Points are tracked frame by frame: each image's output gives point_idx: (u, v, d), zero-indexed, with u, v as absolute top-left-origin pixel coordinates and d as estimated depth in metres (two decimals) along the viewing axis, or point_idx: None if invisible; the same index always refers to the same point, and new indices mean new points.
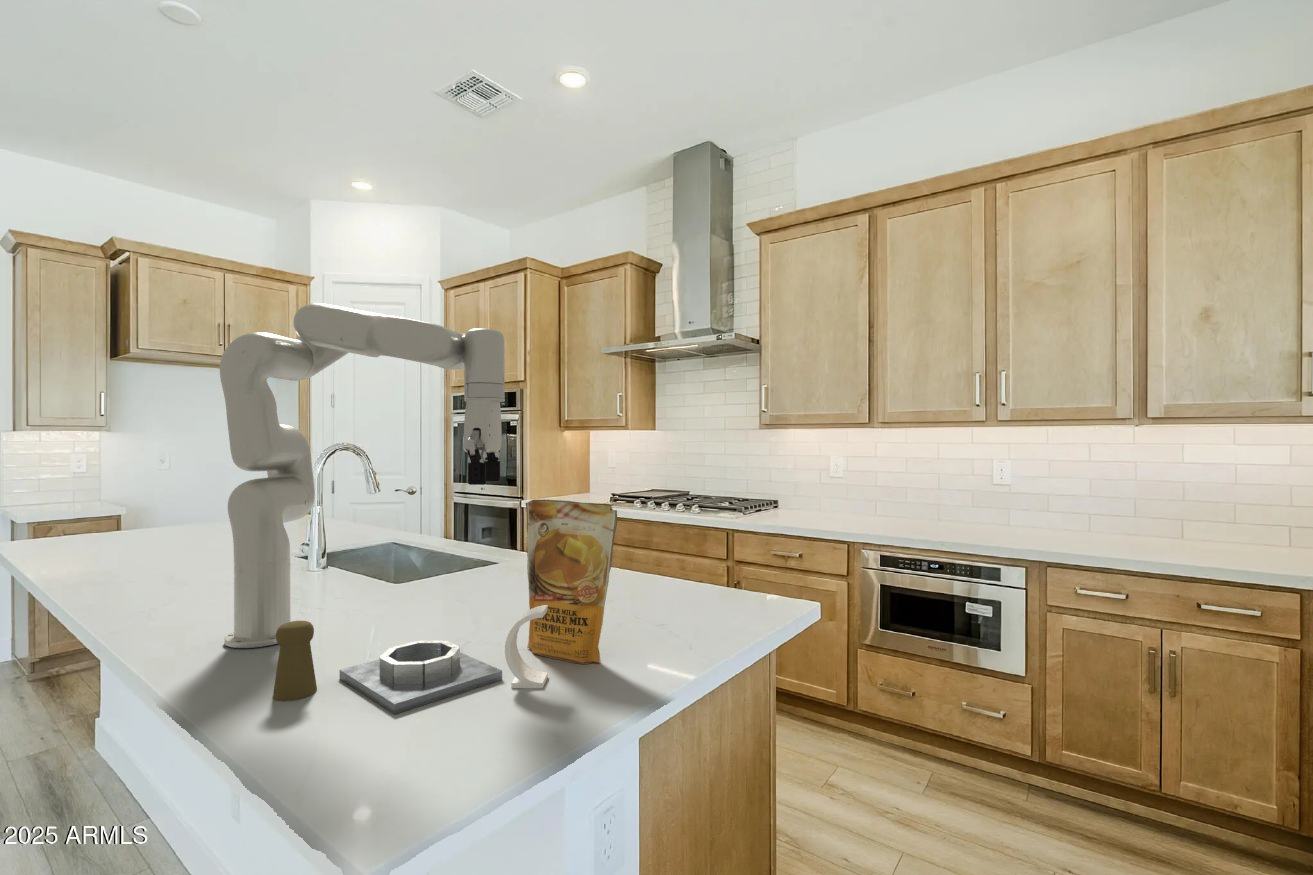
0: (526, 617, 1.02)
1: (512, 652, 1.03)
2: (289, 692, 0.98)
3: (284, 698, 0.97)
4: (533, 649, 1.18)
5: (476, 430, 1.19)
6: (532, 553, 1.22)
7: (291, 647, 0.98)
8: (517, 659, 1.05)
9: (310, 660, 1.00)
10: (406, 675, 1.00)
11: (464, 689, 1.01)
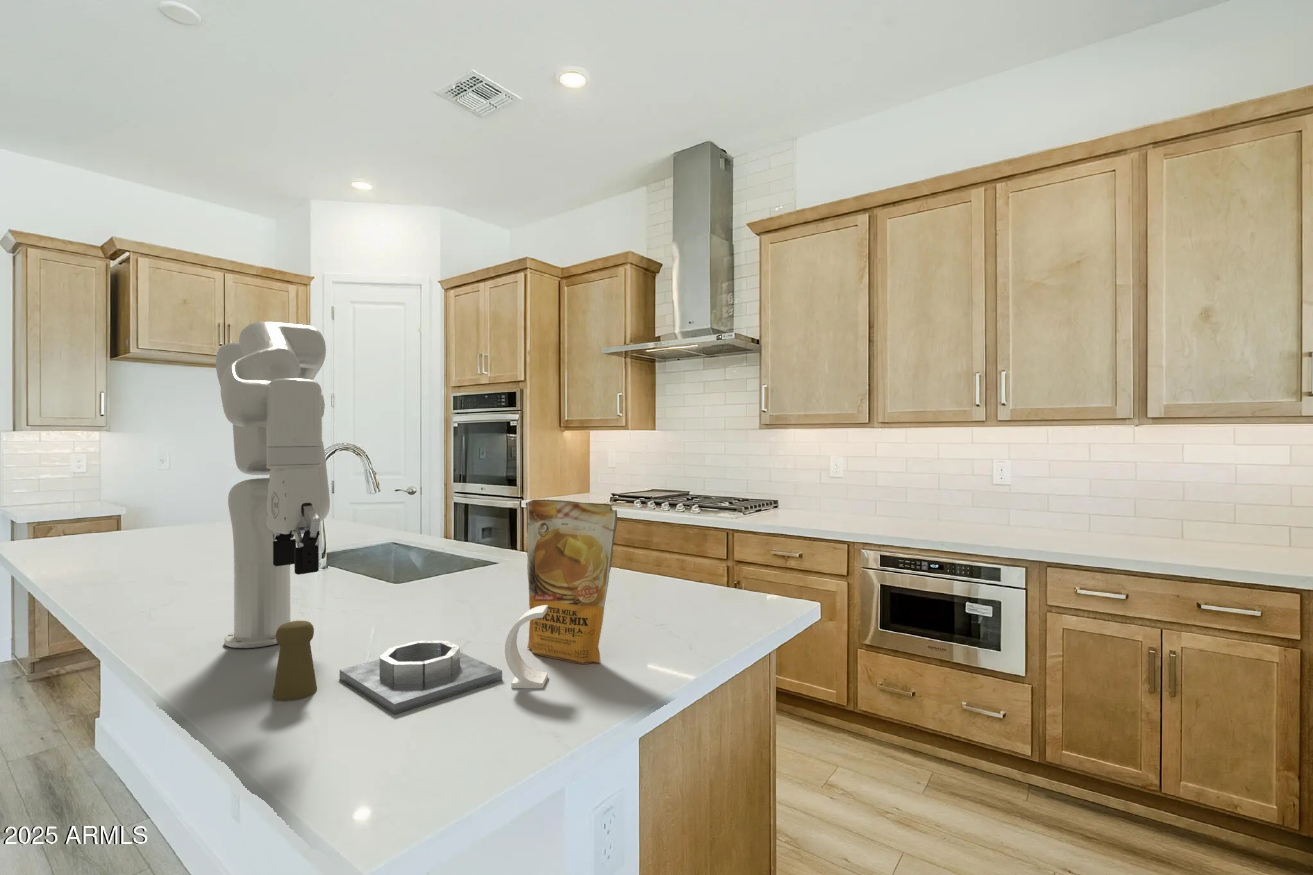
0: (526, 617, 1.02)
1: (512, 652, 1.03)
2: (289, 692, 0.98)
3: (284, 698, 0.97)
4: (533, 649, 1.18)
5: (307, 506, 0.97)
6: (532, 553, 1.22)
7: (291, 647, 0.98)
8: (517, 659, 1.05)
9: (310, 660, 1.00)
10: (406, 675, 1.00)
11: (464, 689, 1.01)
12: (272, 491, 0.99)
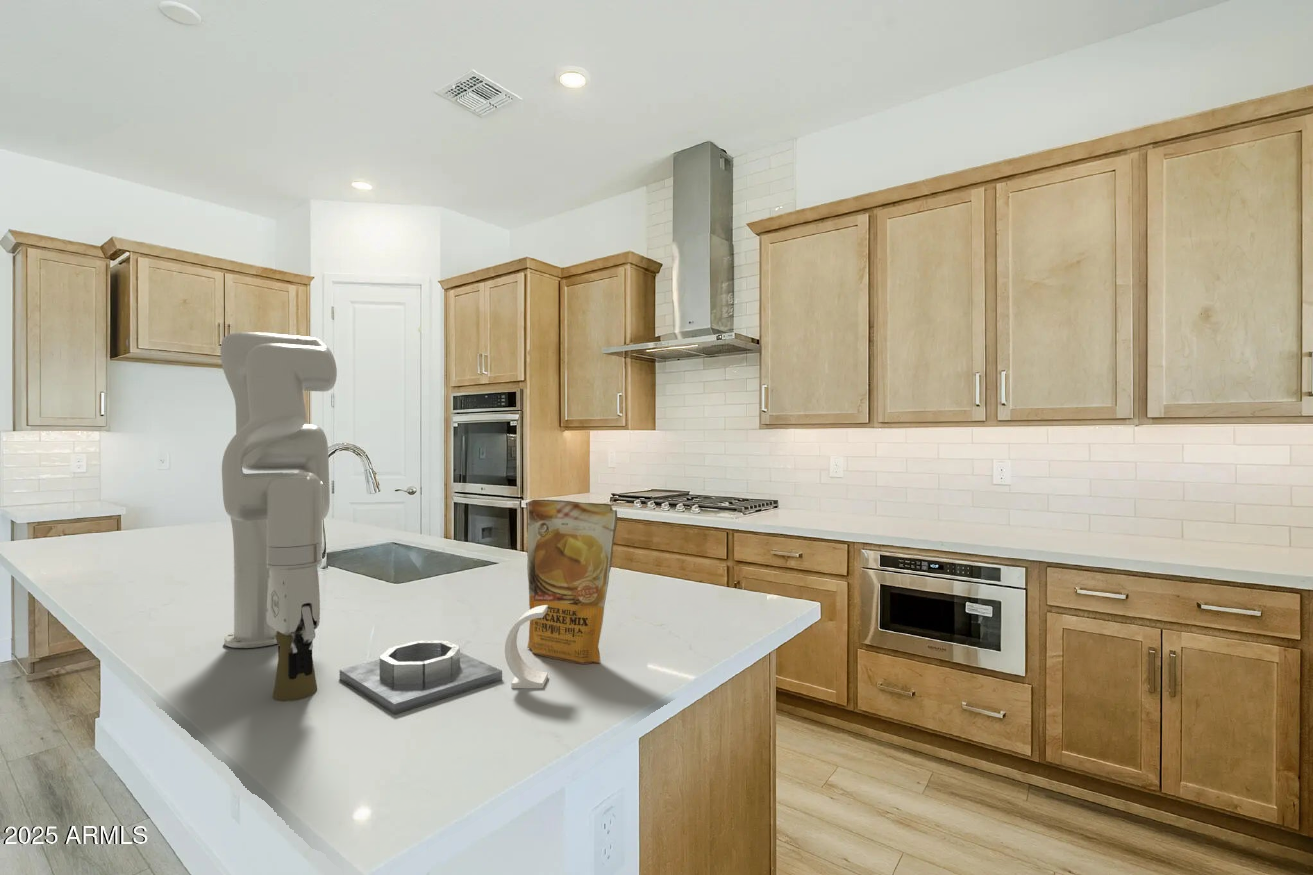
0: (526, 617, 1.02)
1: (512, 652, 1.03)
2: (289, 692, 0.98)
3: (284, 698, 0.97)
4: (533, 649, 1.18)
5: (306, 612, 0.97)
6: (532, 553, 1.22)
7: None
8: (517, 659, 1.05)
9: None
10: (406, 675, 1.00)
11: (464, 689, 1.01)
12: (272, 589, 0.99)
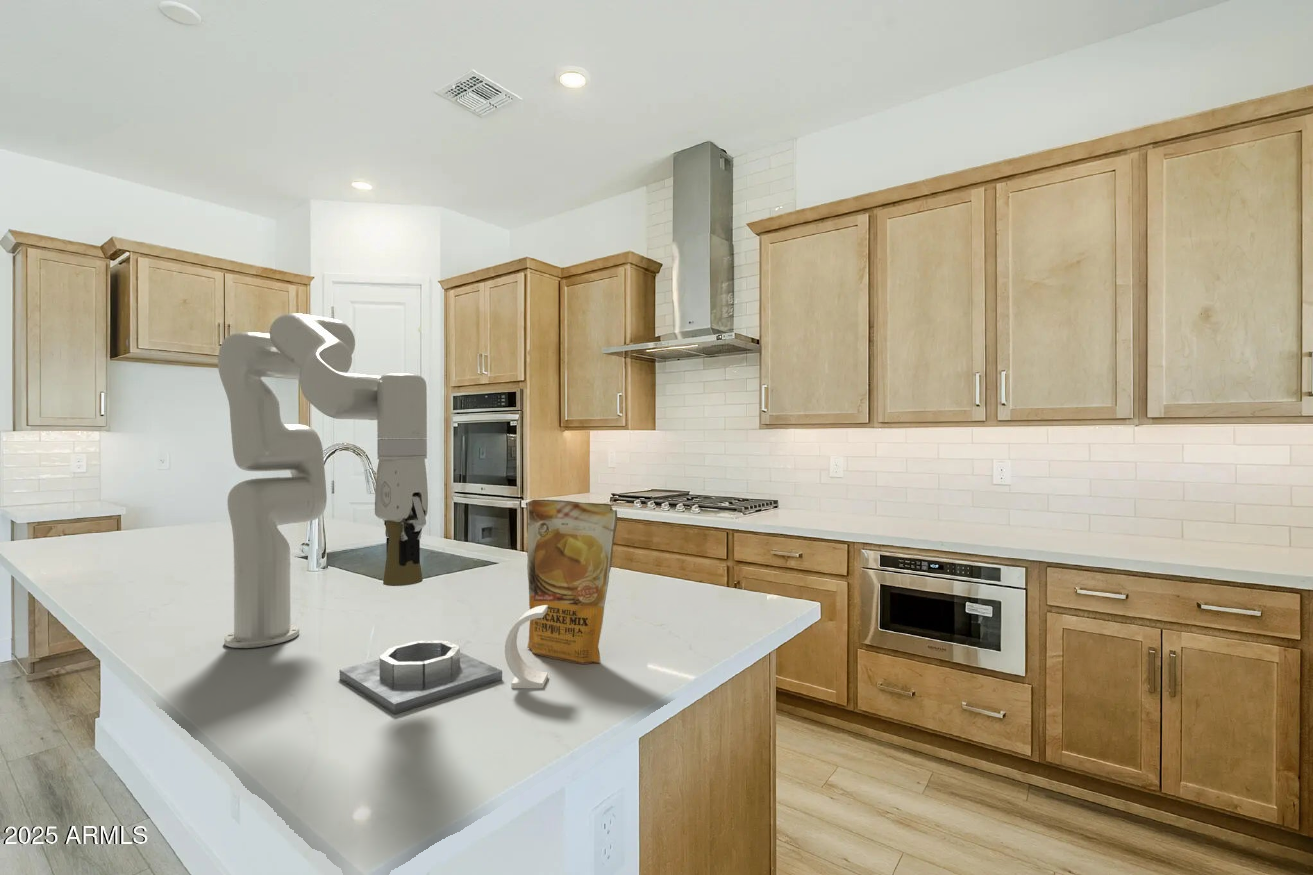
0: (526, 617, 1.02)
1: (512, 652, 1.03)
2: (399, 578, 1.02)
3: (395, 583, 1.02)
4: (533, 649, 1.18)
5: (416, 500, 1.02)
6: (532, 553, 1.22)
7: None
8: (517, 659, 1.05)
9: None
10: (406, 675, 1.00)
11: (464, 689, 1.01)
12: (382, 481, 1.04)
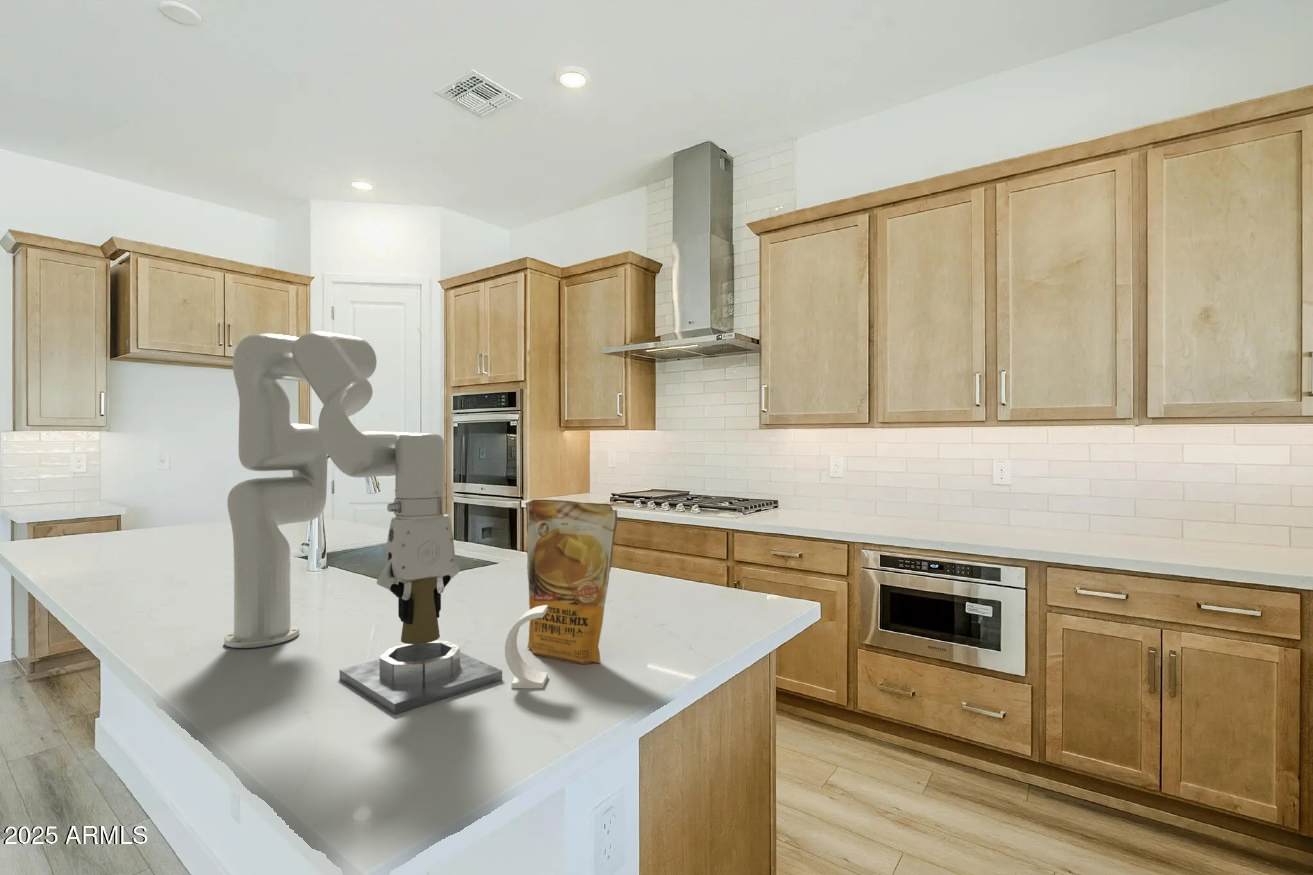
0: (526, 617, 1.02)
1: (512, 652, 1.03)
2: (438, 629, 1.07)
3: (438, 636, 1.06)
4: (533, 649, 1.18)
5: None
6: (532, 553, 1.22)
7: (433, 590, 1.07)
8: (517, 659, 1.05)
9: None
10: (406, 675, 1.00)
11: (464, 689, 1.01)
12: (422, 541, 1.03)
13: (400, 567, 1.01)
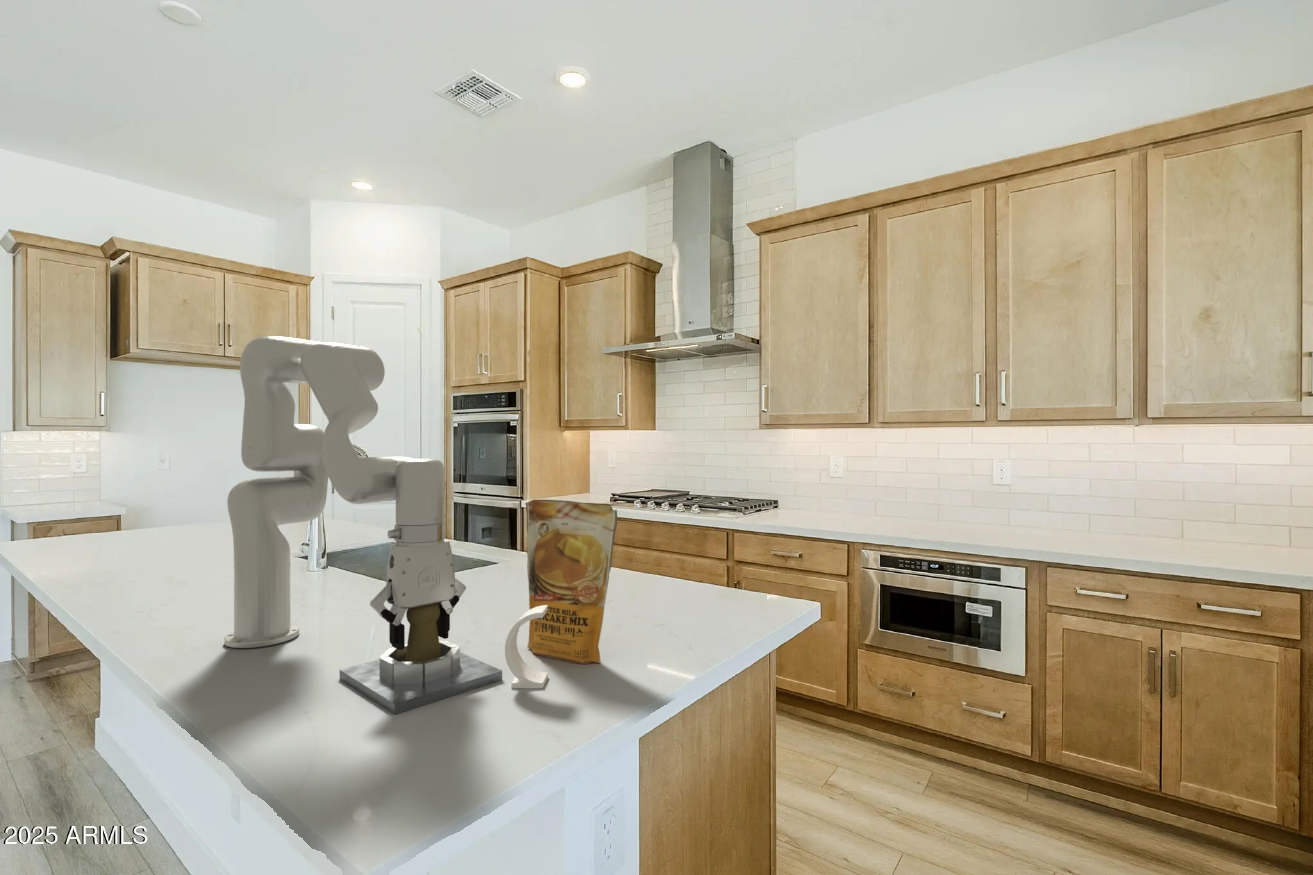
0: (526, 617, 1.02)
1: (512, 652, 1.03)
2: None
3: None
4: (533, 649, 1.18)
5: None
6: (532, 553, 1.22)
7: None
8: (517, 659, 1.05)
9: None
10: (406, 675, 1.00)
11: (464, 689, 1.01)
12: (422, 567, 1.03)
13: (400, 594, 1.01)
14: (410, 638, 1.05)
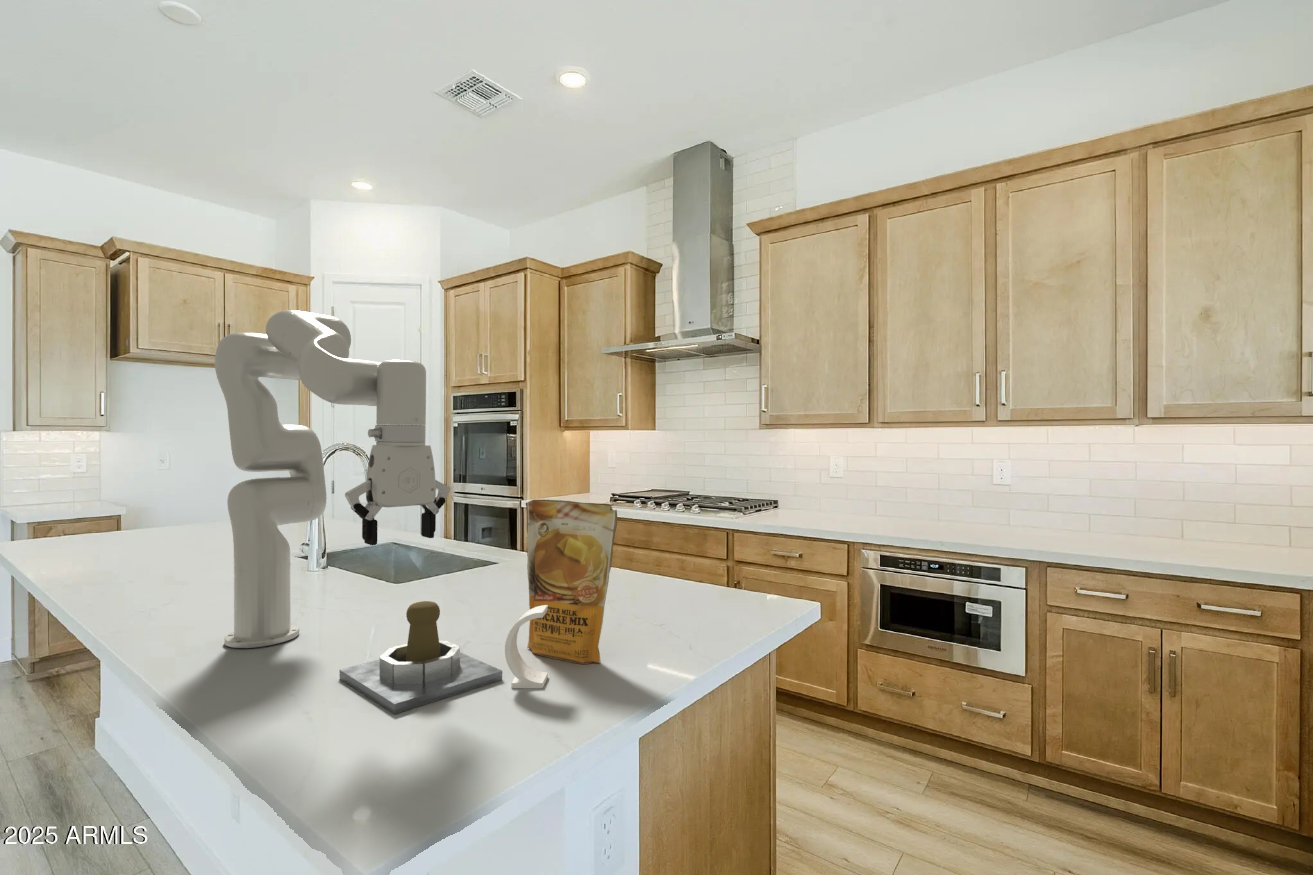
0: (526, 617, 1.02)
1: (512, 652, 1.03)
2: None
3: None
4: (533, 649, 1.18)
5: None
6: (532, 553, 1.22)
7: None
8: (517, 659, 1.05)
9: None
10: (406, 675, 1.00)
11: (464, 689, 1.01)
12: (402, 467, 1.03)
13: (380, 492, 1.01)
14: (410, 638, 1.04)
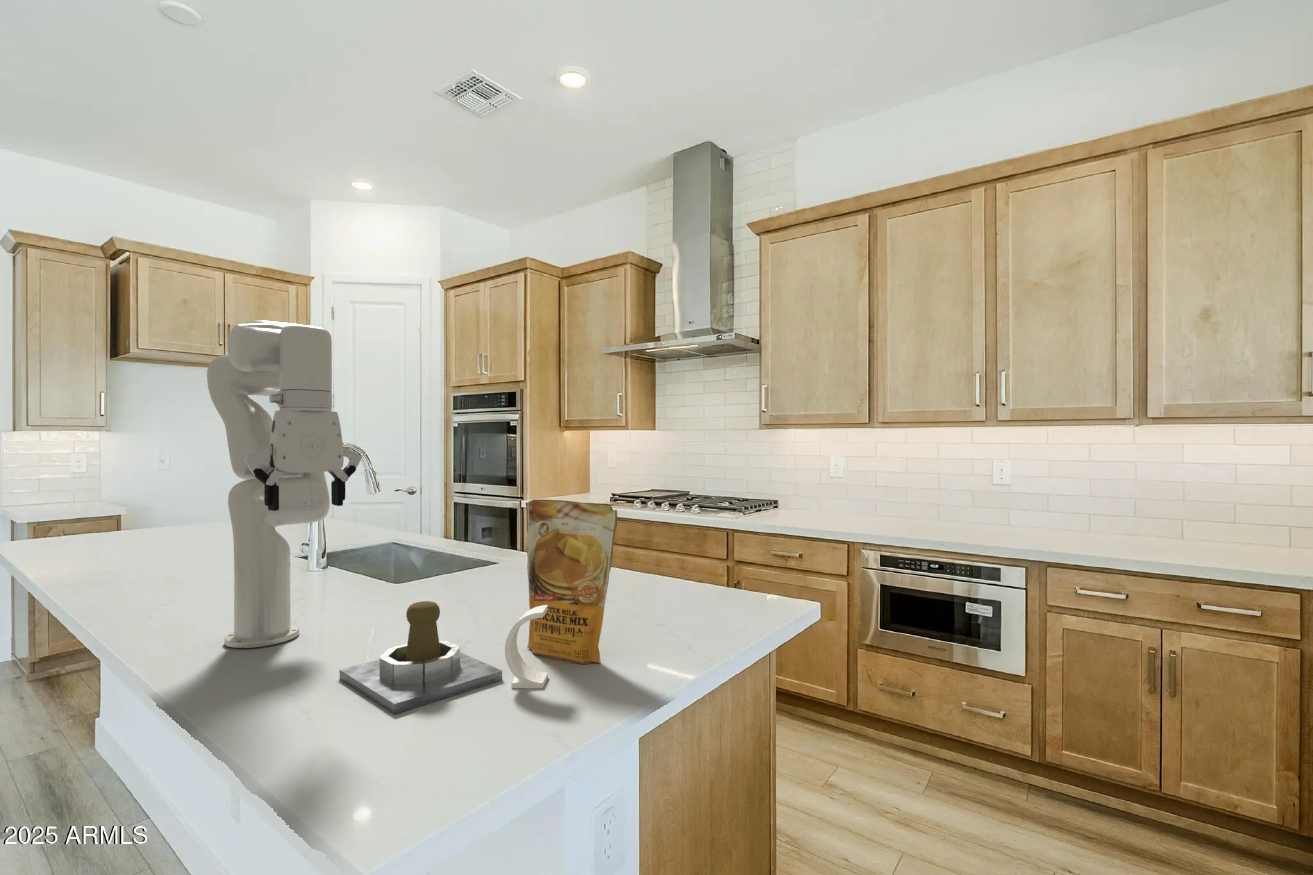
0: (526, 617, 1.02)
1: (512, 652, 1.03)
2: None
3: None
4: (533, 649, 1.18)
5: None
6: (532, 553, 1.22)
7: None
8: (517, 659, 1.05)
9: None
10: (406, 675, 1.00)
11: (464, 689, 1.01)
12: (305, 433, 1.02)
13: (280, 457, 1.00)
14: (410, 638, 1.04)
